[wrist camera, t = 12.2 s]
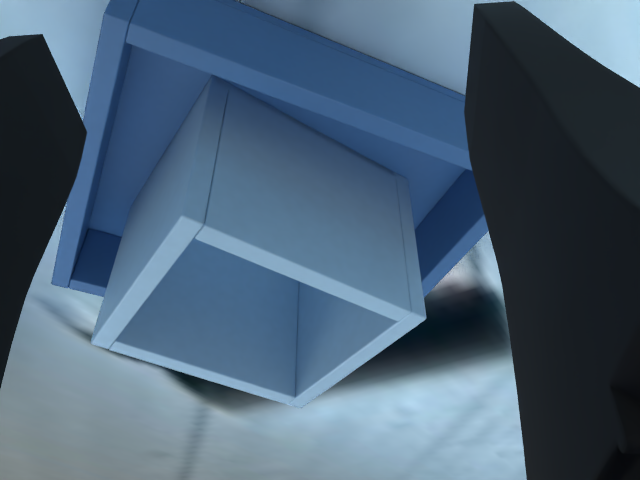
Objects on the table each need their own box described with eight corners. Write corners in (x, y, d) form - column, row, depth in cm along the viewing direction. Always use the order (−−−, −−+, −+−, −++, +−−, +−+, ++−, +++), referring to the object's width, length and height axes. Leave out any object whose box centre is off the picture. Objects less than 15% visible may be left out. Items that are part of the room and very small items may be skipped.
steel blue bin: (73, 224, 28) (50, 284, 26) (130, -44, 19) (103, 12, 17) (360, 303, 33) (363, 360, 30) (518, 117, 24) (540, 178, 21)
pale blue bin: (130, 206, 27) (89, 344, 22) (212, 74, 22) (181, 215, 17) (304, 278, 30) (300, 409, 26) (408, 179, 25) (427, 319, 21)
